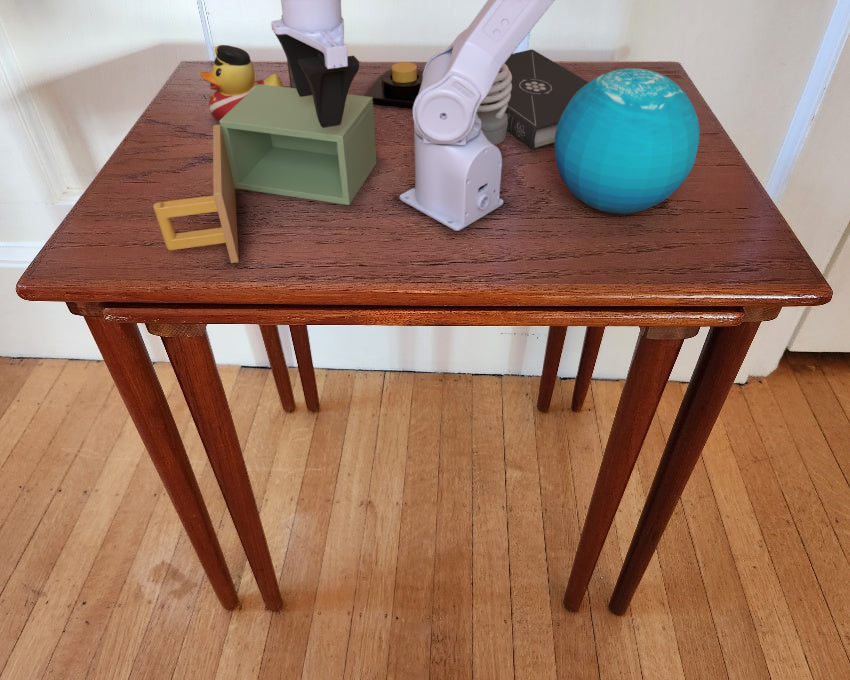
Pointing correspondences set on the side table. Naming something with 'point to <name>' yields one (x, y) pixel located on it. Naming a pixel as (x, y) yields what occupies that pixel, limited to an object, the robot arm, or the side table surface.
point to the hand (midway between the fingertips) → (319, 109)
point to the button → (404, 72)
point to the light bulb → (496, 108)
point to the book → (537, 97)
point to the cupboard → (299, 146)
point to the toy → (232, 79)
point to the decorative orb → (627, 141)
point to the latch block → (395, 91)
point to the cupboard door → (205, 208)
